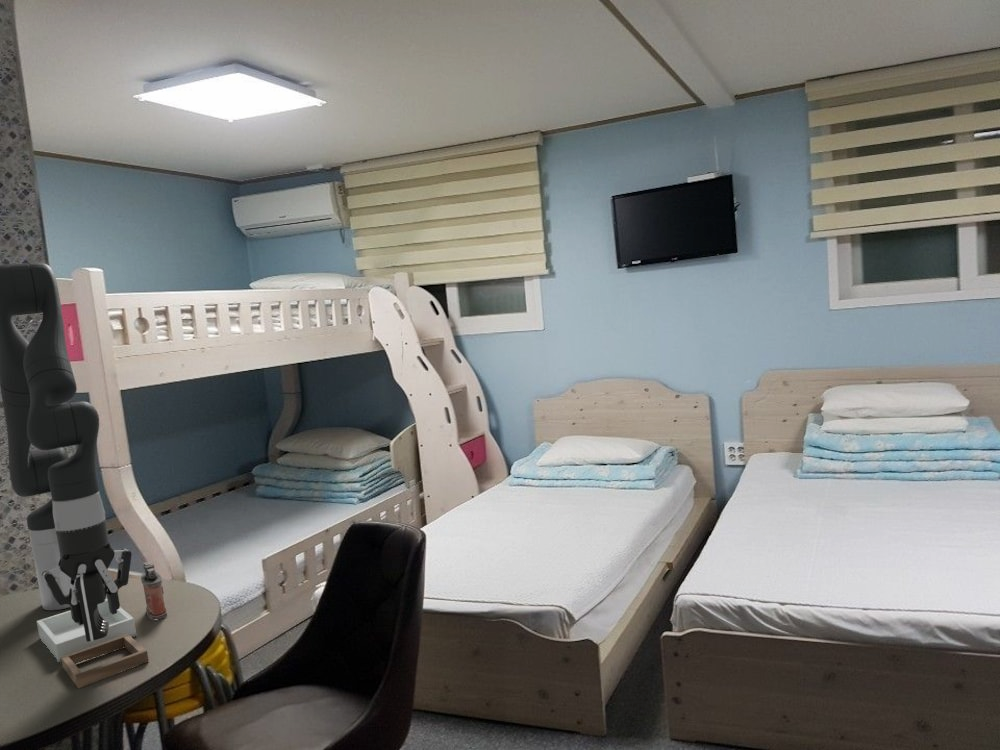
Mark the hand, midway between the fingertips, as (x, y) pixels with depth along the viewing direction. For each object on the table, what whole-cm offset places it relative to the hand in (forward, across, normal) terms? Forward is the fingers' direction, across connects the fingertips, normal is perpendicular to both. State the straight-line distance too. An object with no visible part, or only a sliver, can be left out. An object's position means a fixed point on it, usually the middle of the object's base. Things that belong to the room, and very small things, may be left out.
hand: (97, 617), depth 137 cm
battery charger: (+3, 0, 0) cm, 3 cm away
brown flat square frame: (+9, 0, 0) cm, 9 cm away
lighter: (+9, -14, -16) cm, 23 cm away
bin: (+9, -1, -16) cm, 18 cm away
